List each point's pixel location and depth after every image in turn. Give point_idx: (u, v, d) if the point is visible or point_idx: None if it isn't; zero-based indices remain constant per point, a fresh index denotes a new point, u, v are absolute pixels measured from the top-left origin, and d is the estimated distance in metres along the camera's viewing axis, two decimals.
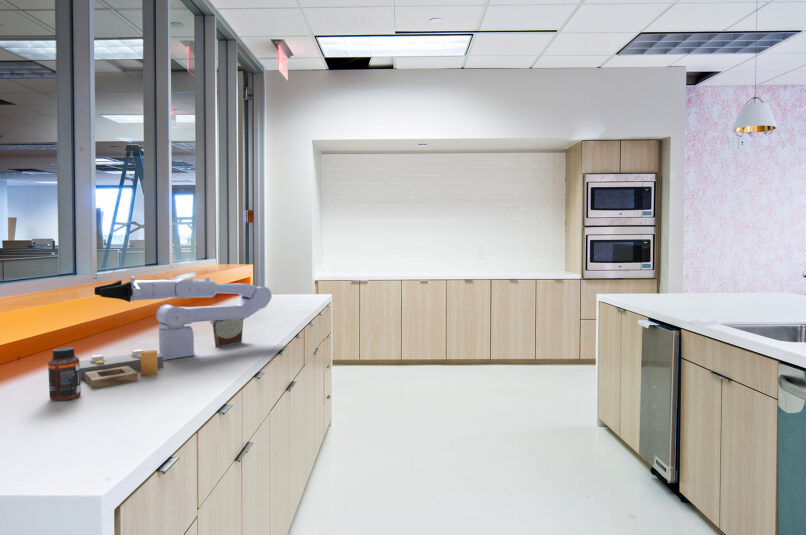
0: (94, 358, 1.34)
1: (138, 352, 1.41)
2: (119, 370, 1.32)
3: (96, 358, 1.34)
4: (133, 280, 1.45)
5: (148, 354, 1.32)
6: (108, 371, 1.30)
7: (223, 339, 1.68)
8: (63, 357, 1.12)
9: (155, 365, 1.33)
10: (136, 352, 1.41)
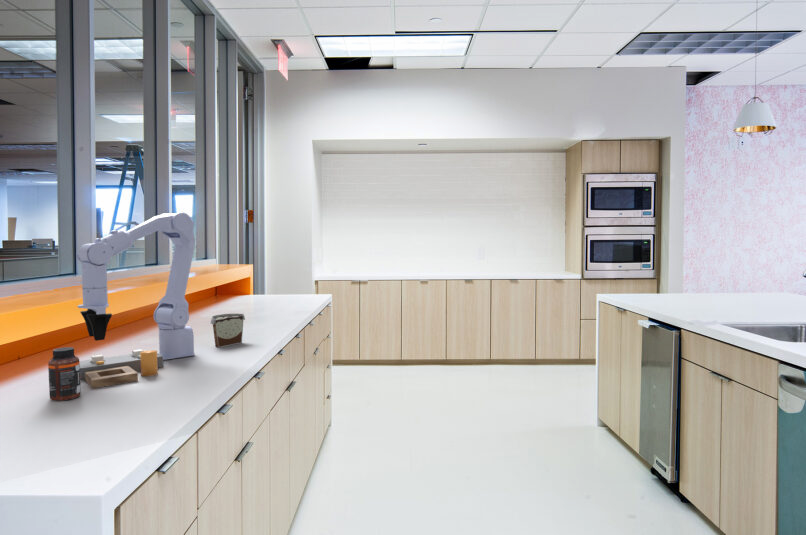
0: (94, 358, 1.34)
1: (138, 352, 1.41)
2: (119, 370, 1.32)
3: (96, 358, 1.34)
4: (83, 307, 1.32)
5: (148, 354, 1.32)
6: (108, 371, 1.30)
7: (223, 340, 1.68)
8: (63, 357, 1.12)
9: (155, 365, 1.33)
10: (136, 352, 1.41)
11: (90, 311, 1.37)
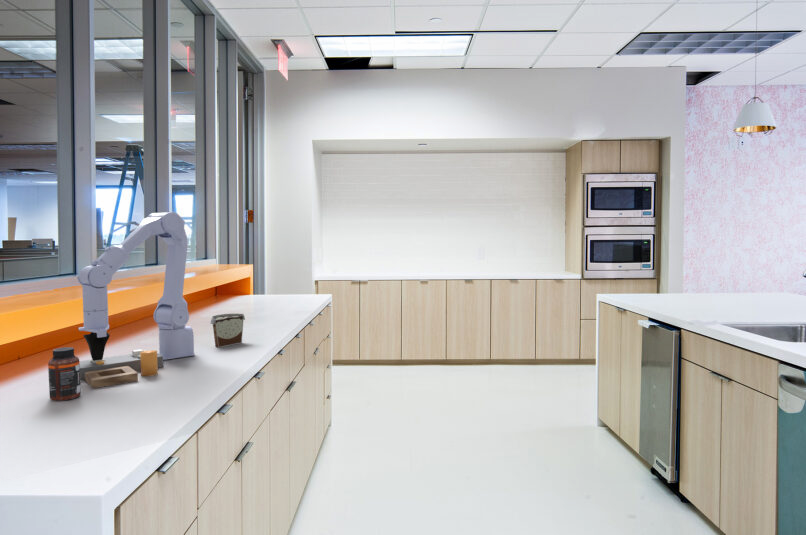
0: (94, 362, 1.34)
1: (138, 352, 1.41)
2: (119, 370, 1.32)
3: None
4: (84, 329, 1.32)
5: (148, 354, 1.32)
6: (108, 371, 1.30)
7: (223, 340, 1.68)
8: (63, 357, 1.12)
9: (155, 365, 1.33)
10: (136, 352, 1.41)
11: None
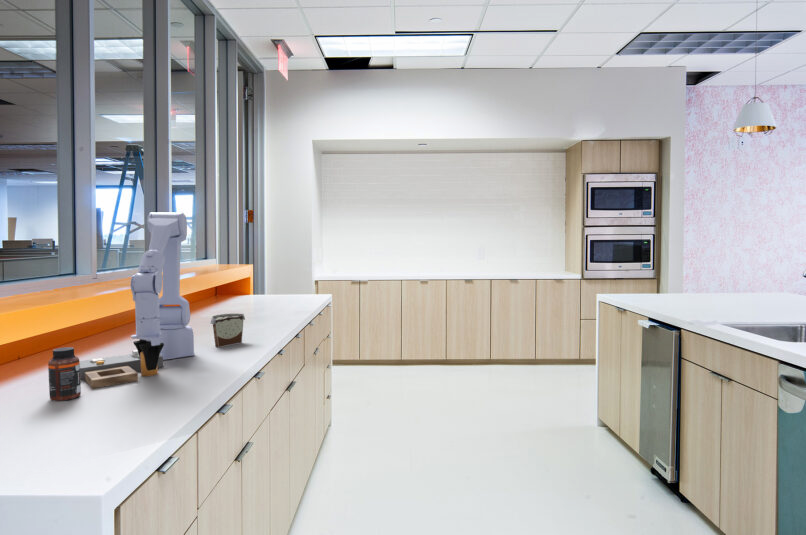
0: (94, 362, 1.34)
1: None
2: (119, 370, 1.32)
3: None
4: (137, 337, 1.31)
5: None
6: (108, 371, 1.30)
7: (223, 340, 1.68)
8: (63, 357, 1.12)
9: None
10: (136, 352, 1.41)
11: (143, 341, 1.35)
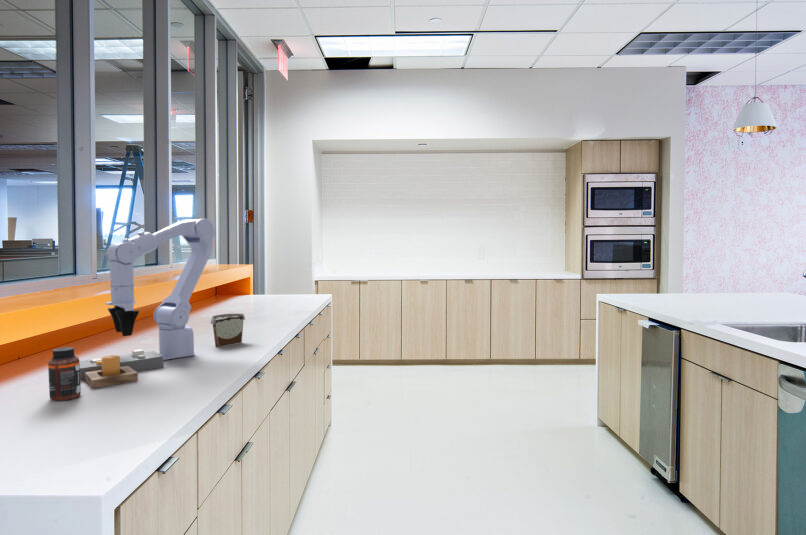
0: (94, 362, 1.34)
1: (138, 352, 1.41)
2: None
3: None
4: (111, 304, 1.38)
5: (109, 359, 1.26)
6: None
7: (223, 340, 1.68)
8: (63, 357, 1.12)
9: (117, 371, 1.28)
10: (136, 352, 1.41)
11: (117, 308, 1.43)
